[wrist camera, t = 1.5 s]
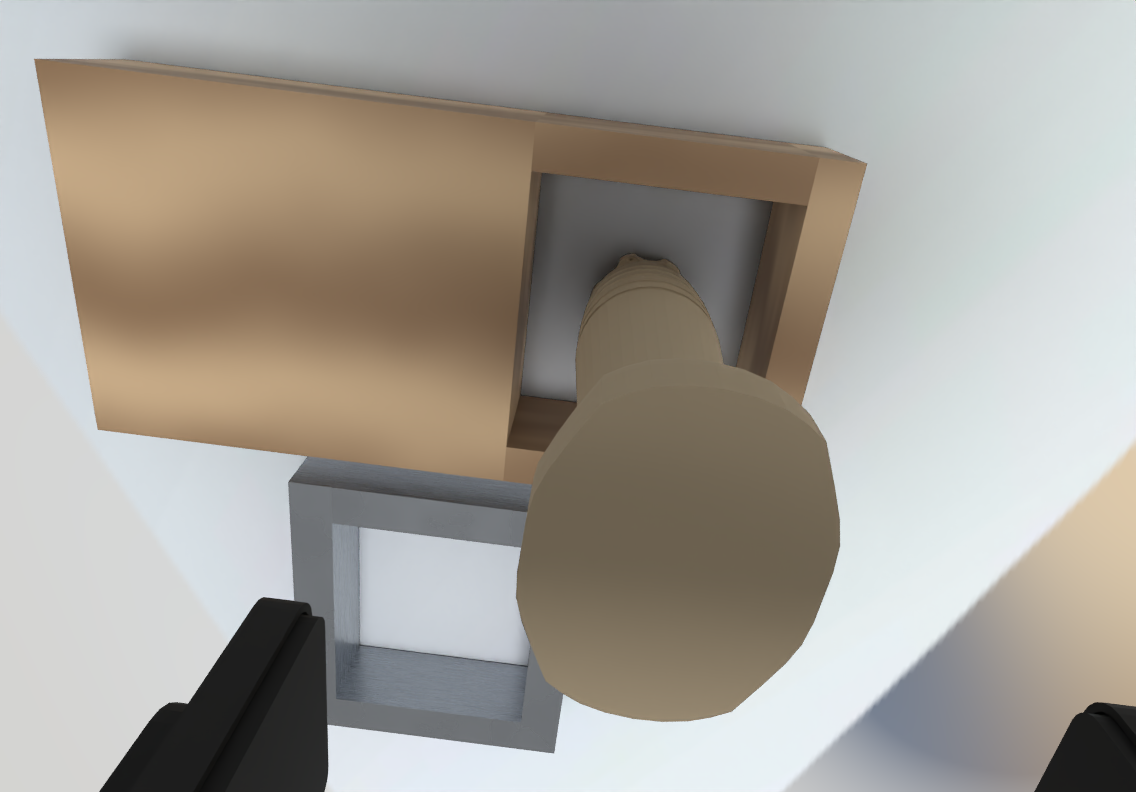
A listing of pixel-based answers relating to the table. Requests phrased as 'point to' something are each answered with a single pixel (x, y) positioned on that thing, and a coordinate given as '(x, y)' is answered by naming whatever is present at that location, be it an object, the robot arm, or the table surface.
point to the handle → (672, 514)
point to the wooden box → (371, 257)
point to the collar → (400, 678)
